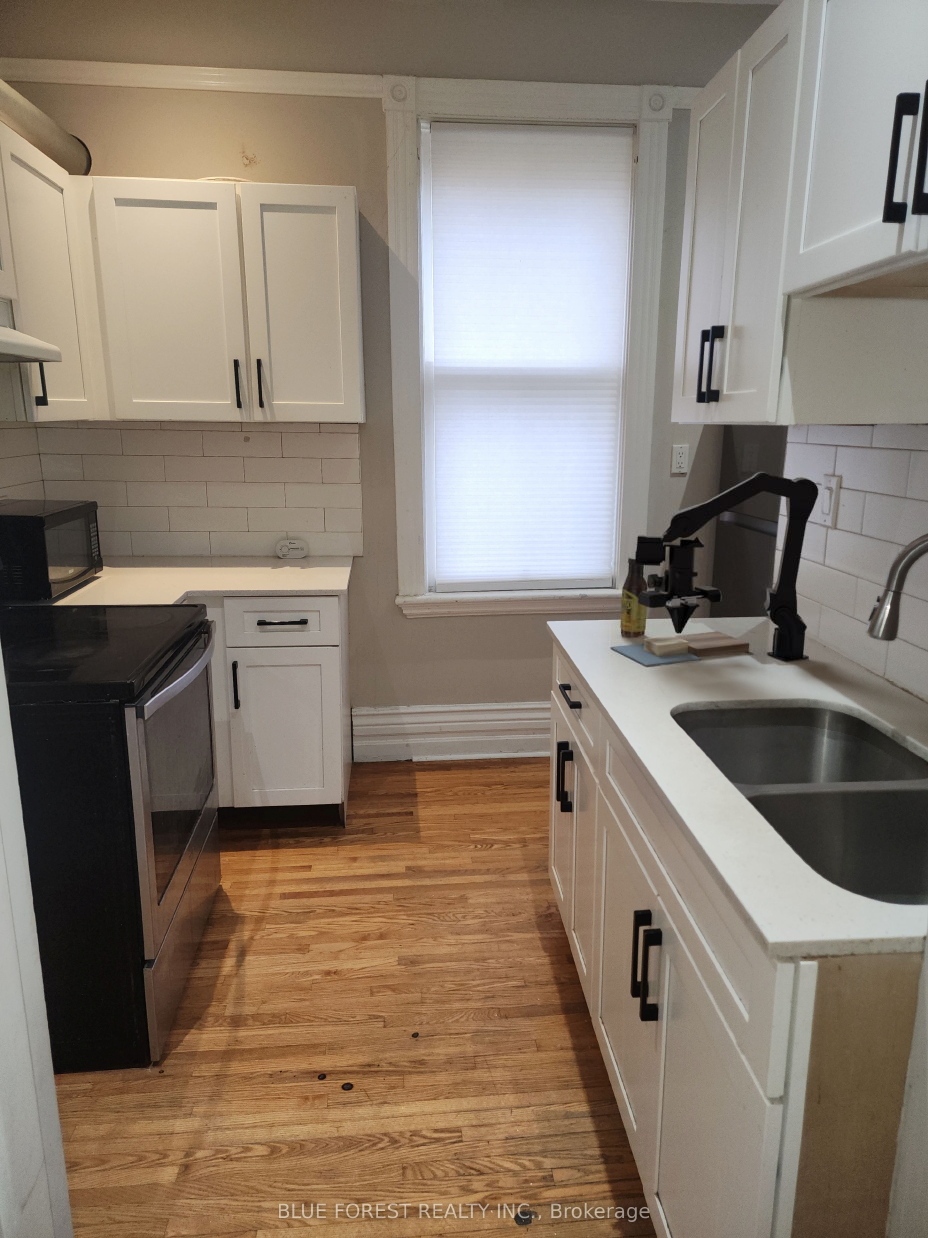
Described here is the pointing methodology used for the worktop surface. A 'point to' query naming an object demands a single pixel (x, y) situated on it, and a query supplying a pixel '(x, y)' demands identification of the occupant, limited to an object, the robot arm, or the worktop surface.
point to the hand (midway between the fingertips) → (678, 633)
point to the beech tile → (666, 645)
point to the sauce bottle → (633, 601)
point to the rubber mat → (652, 655)
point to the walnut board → (714, 644)
